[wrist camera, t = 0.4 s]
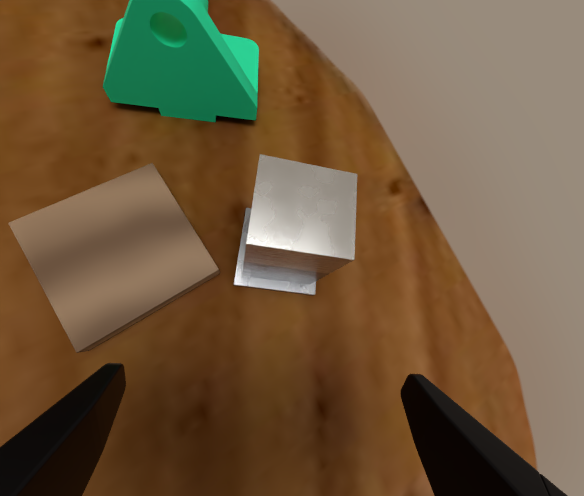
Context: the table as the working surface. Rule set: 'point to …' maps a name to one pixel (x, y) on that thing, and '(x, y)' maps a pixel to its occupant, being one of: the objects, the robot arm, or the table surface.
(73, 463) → the robot arm
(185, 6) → the camera mount
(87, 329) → the stand
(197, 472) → the table surface
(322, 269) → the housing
